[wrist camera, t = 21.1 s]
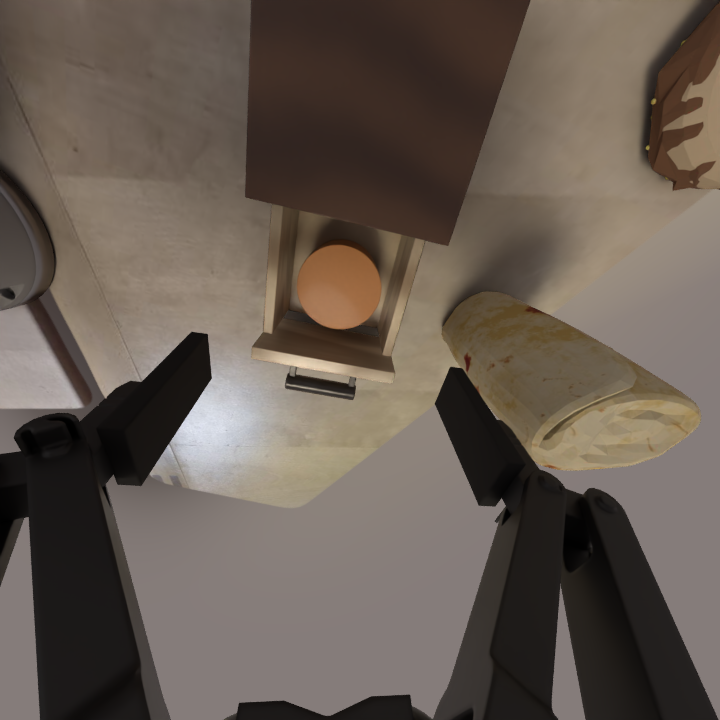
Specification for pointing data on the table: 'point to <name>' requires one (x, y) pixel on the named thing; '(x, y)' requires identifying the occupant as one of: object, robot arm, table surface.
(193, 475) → the table surface
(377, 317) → the drawer
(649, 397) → the food model
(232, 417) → the table surface
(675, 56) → the donut
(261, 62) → the cabinet
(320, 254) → the orange cylinder puck
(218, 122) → the table surface
